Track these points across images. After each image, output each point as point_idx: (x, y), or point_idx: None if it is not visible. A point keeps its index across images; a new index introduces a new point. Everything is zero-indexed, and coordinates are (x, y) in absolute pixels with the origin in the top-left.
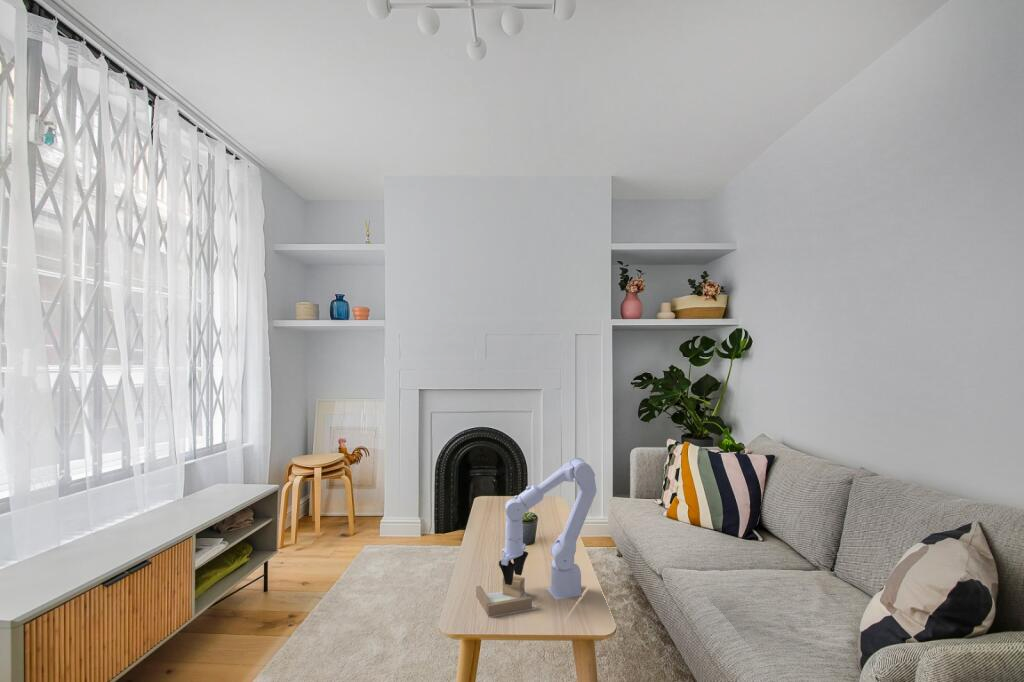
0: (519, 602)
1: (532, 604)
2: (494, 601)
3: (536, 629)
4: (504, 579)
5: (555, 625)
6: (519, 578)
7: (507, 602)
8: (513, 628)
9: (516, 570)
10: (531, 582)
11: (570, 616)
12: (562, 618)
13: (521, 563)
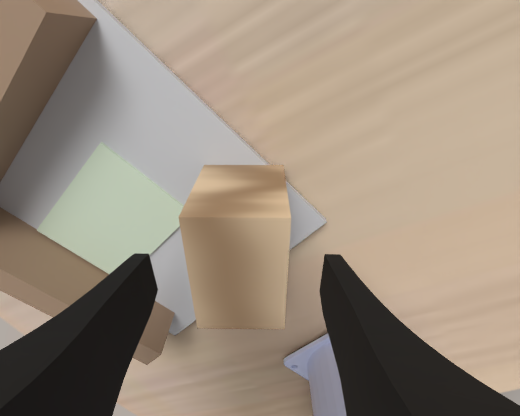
0: None
1: (194, 315)
2: (90, 163)
3: None
4: (109, 275)
5: (131, 385)
6: (252, 310)
7: (21, 298)
8: (6, 304)
9: (331, 288)
10: (434, 233)
11: (207, 400)
12: (182, 389)
13: (346, 387)
